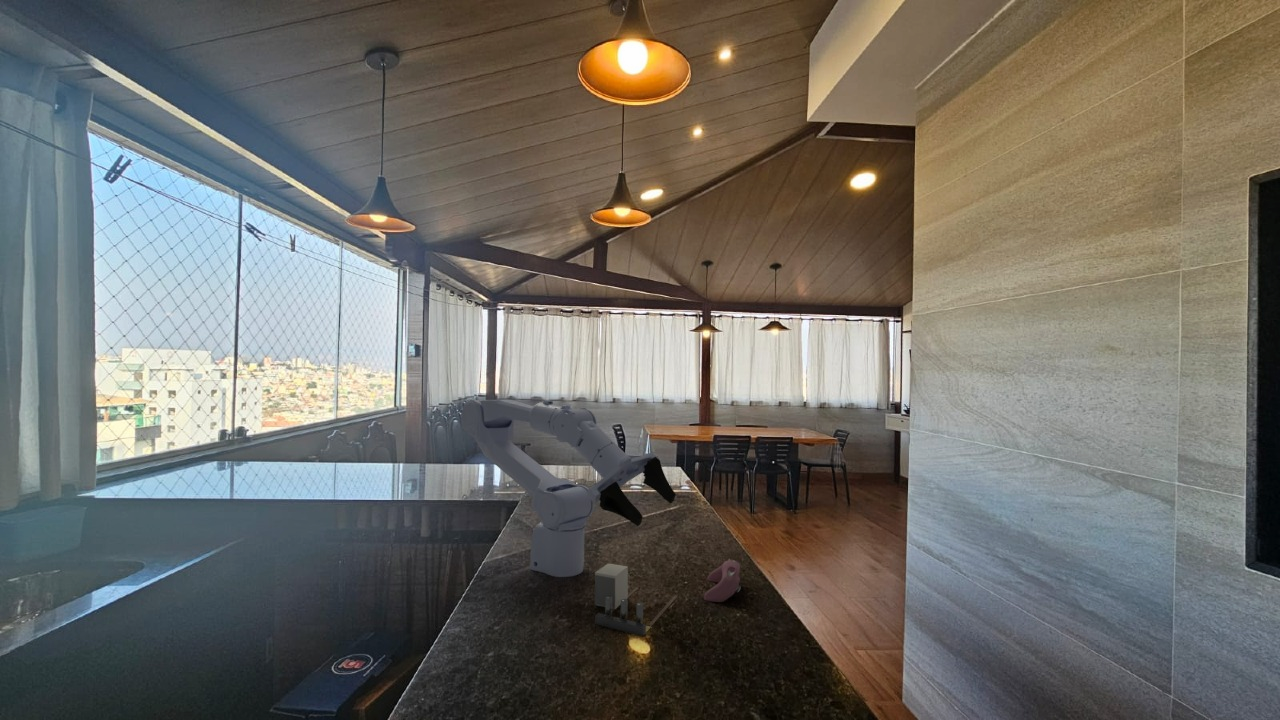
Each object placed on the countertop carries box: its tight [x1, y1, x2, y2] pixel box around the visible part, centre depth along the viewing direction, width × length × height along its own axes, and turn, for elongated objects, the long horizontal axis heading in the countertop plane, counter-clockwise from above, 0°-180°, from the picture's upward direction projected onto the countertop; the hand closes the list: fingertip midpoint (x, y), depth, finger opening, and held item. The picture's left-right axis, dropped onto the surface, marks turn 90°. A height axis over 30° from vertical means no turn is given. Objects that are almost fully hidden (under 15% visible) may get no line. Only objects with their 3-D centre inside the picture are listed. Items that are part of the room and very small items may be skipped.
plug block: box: [594, 563, 629, 610], centre depth 81 cm, size 4×5×5 cm
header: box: [594, 595, 647, 637], centre depth 73 cm, size 8×2×4 cm, turn 66°
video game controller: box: [703, 558, 741, 603], centre depth 86 cm, size 10×5×7 cm, turn 169°
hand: (657, 510), depth 82 cm, fingers open, 7 cm apart
